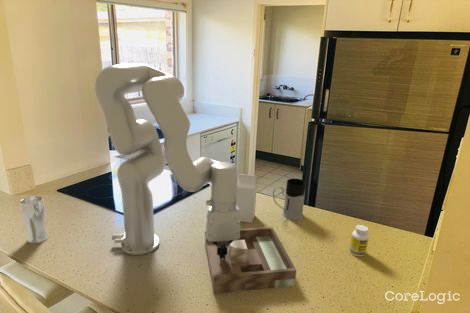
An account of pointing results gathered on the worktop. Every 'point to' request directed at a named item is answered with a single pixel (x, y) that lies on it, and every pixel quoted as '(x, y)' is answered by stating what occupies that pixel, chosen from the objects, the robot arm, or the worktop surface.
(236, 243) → the block
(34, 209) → the beer glass
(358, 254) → the supplement bottle
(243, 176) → the milk carton
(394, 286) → the worktop surface
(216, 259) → the box
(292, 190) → the white and black mug
